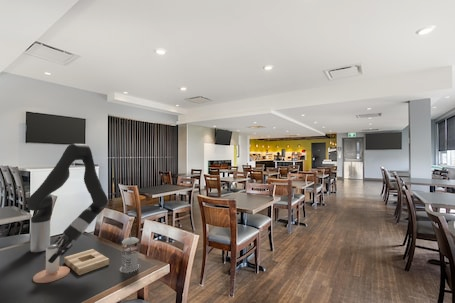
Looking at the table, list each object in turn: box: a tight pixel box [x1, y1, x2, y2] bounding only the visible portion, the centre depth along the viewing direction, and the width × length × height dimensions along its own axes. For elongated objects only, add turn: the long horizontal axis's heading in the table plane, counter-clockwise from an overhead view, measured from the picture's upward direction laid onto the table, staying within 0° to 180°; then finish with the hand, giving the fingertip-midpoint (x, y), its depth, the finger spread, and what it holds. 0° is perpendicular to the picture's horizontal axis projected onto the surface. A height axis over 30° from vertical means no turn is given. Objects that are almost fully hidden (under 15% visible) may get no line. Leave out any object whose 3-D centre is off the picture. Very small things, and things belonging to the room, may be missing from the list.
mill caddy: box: [63, 248, 110, 276], centre depth 124 cm, size 20×14×3 cm
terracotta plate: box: [32, 265, 71, 284], centre depth 112 cm, size 14×14×1 cm
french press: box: [119, 218, 140, 274], centre depth 120 cm, size 10×12×25 cm
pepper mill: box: [45, 243, 60, 274], centre depth 112 cm, size 5×5×12 cm
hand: (48, 260), depth 111 cm, fingers closed on pepper mill, 5 cm apart
